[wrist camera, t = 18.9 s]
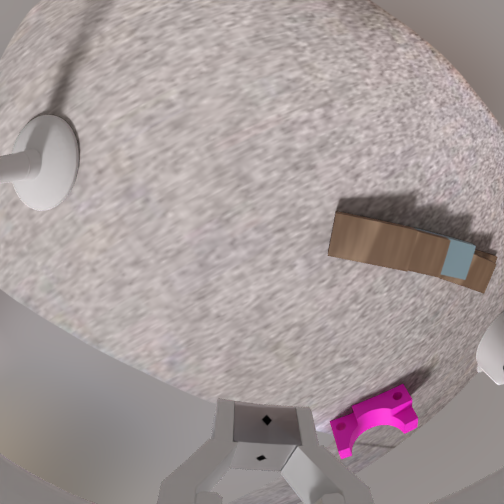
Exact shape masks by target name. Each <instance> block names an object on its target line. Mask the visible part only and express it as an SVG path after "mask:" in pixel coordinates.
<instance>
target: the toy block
mask: <svg viewBox="0 0 504 504" xmlns="http://www.w3.org/2000/svg"><path fill="white" fill-rule="evenodd" d="M352 409H353V413H352V414H349V415H346V416H344V417H341V418H338V419H335V420H332V421H330V424H331V427H332V431H333V434H334V438H335V441H336V445H337V448H338V452H339V454H340V457H341V459H343V458H346V457H349V456H352V447H353V444H354V442H355V440H356V439H357V438H358V436H359V435H360V434H362V433H363V432H364V431H366V430H367V429H369V428H371V427H374V426H378V425H391V426H395V427H397V428H399V429H400V430H401V431H402V432H403V433H404V434H405V433H407V432H409V431H411V430H413V429H415V428H417V424H418V417H417V415H416V413H415V411H414V410H413V408H412V398H411V396H410V395H409V393H408V391H407V389H406V388H405V386H404V384H401V385H399V386H397V387H395V388H393V389H391V390H389V391H386V392H384V393H382V394H380V395H377V396H375V397H373V398H370V399H368V400H366V401H363V402H361V403H358V404H356V405H353V406H352Z"/></svg>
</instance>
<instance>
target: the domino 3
mask: <svg viewBox="0 0 504 504" xmlns="http://www.w3.org/2000/svg"><path fill="white" fill-rule="evenodd" d="M415 229H417V230H420V231H424V232H428V233H432V234H436V235H439V236H443V237H446V238H448V239H449V240H451V241H450V245H449V248H448V252H447V255H446V258H445V262H444V265H443V268H442V271H441V275H446V276H450V277H454V278H459V279H463V280H466V277H467V274H468V271H469V268H470V265H471V261H472V258H473V255H474V251H475V248H476V246H475V245H473V244H472V243H469V242H466V241H463V240H459V239H455V238H452V237H448V236H445V235H441V234H437V233H433V232H430V231H426V230H422V229H418V228H415Z"/></svg>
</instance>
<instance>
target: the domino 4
mask: <svg viewBox="0 0 504 504" xmlns="http://www.w3.org/2000/svg"><path fill="white" fill-rule="evenodd" d="M495 266H496V264H495V263H494V262H493V261H491V260H489V259H486V258H484V257H482V256H480V255H477V254H475V253H474V255H473V258H472V261H471V265H470V268H469V271H468V274H467V277H466V280H463V279H459V278H454V277H450V276H446V275H441V274H440V277H439V278H441V279H444V280H447V281H450V282H452V283H455V284H458V285H461V286H464V287H467V288H470V289H473V290H476V291H478V292H481V293H484V292H485V290H486V288H487V285H488V283H489V281H490V278H491V276H492V274H493V271H494V269H495Z"/></svg>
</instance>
